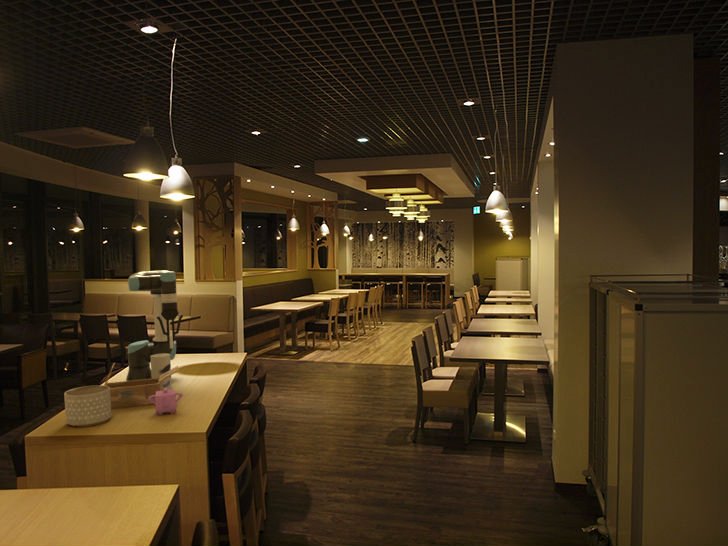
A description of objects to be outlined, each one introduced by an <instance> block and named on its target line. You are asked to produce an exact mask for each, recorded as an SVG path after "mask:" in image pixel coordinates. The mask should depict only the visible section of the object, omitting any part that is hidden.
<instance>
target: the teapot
mask: <svg viewBox="0 0 728 546" xmlns="http://www.w3.org/2000/svg"><path fill="white" fill-rule="evenodd" d="M176 395H178V397H176ZM183 396H184V395H183V393H182V392H176V389H172V390H168V389H167V388H165V389H164V390H163V391H156V395H152V396H150V397H148V400H149V401H150V402H151V403H153V404H152V405H155V414H157V416H162V415H163V414H164V413H165V414H166V413H169V414H170V415H174V414H175V412H176V411H177V403H178V402H179V401H180V400H181V399H182V398H183ZM153 397H155V402H154V401H153V400H152V398H153Z"/></svg>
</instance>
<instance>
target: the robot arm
mask: <svg viewBox="0 0 728 546" xmlns="http://www.w3.org/2000/svg"><path fill="white" fill-rule="evenodd" d="M176 276H177V275H176V272H175V271H169V270H148V271H145V270H144V271H143V270H141V271H138V272H135V273H133V274H131V275H130V276H129V277H128V279H127V284H128V290H129V291H130V292H150V295H151V296H152V297H153V317H154V319H153V320H154V337H153V338H152V342H150V341H149V340H147V339H146V340H140V341H135V342H132V343H130V344H128V346H127V358H128V361H127V362H128V372H127V375H126V379H125V381H133V380H144V379H152V376H151V357H150V356H151V355H155V354H163V353H166V354H170V361H172V360H175V357H176V353H177V340H176V335H177V334H179V332H180V327H181V323H182V319H183V318H184V315H183V314H181V313H180V312H179V311H178V310H179V309H178V302H177V301H178V296H177V277H176ZM176 318H178V320H177V326H176V330H175V320H176ZM171 330H172V331H171Z"/></svg>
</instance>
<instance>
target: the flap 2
mask: <svg viewBox="0 0 728 546" xmlns="http://www.w3.org/2000/svg"><path fill="white" fill-rule="evenodd" d="M177 372H179V365H177V366H175V367H173V368H171V370H170V371H168V372H166V373H164V374H163V375H161V376H160V378H159V382H160V381H162V380H164V379H165V378H167V377H169V376H171V377H172V376H173V375H174V374H176V373H177Z"/></svg>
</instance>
